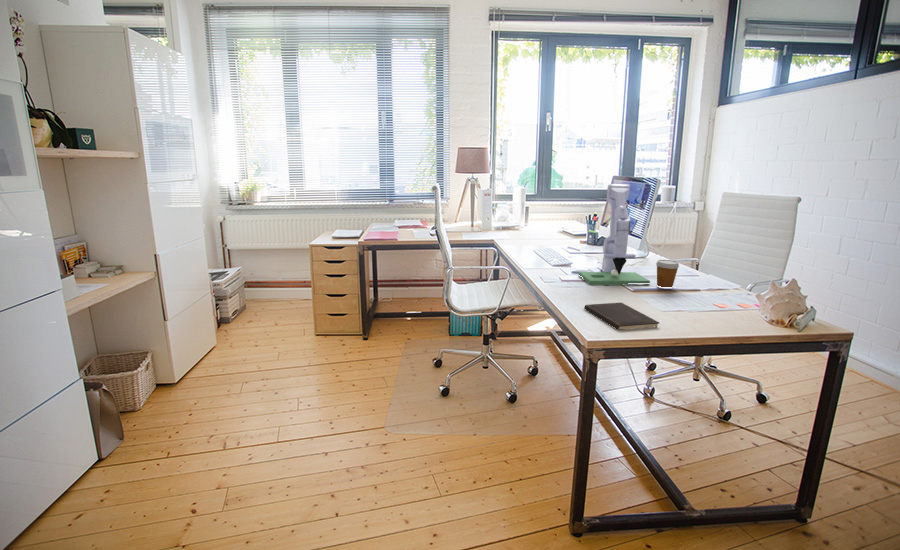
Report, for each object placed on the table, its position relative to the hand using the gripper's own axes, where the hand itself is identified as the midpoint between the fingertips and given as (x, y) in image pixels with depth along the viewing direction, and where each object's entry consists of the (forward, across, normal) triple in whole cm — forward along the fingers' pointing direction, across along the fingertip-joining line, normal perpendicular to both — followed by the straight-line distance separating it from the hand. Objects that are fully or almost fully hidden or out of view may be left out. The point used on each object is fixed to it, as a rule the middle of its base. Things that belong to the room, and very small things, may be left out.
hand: (617, 273), depth 224 cm
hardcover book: (+6, -20, -51) cm, 55 cm away
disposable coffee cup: (+4, +17, -11) cm, 21 cm away
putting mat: (+3, -2, +1) cm, 4 cm away
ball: (0, -1, 0) cm, 1 cm away
